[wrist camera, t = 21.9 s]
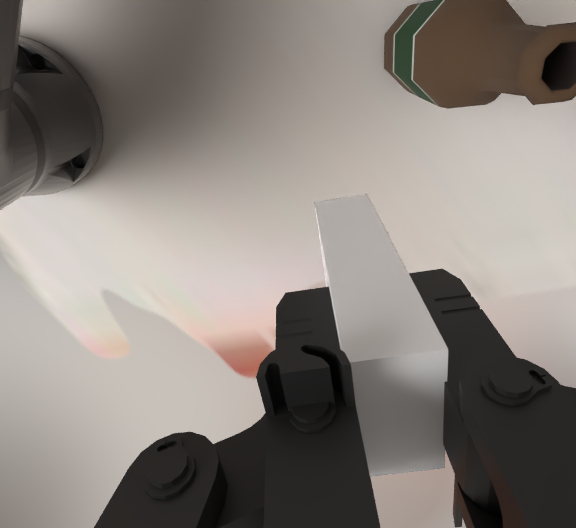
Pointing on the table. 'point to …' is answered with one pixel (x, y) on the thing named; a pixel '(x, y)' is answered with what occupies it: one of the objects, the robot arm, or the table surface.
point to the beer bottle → (479, 54)
